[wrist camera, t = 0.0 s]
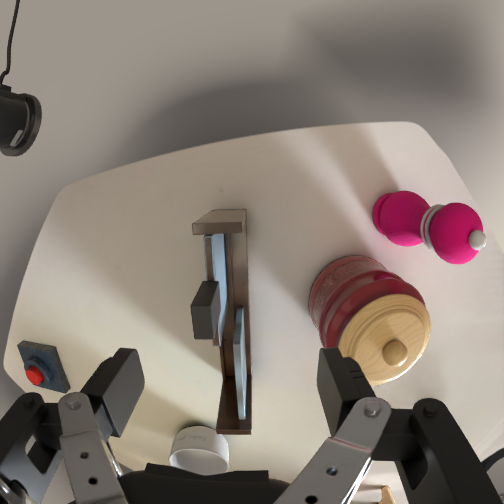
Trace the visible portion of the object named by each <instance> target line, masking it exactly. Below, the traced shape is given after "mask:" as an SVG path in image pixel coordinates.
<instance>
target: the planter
mask: <svg viewBox="0 0 504 504" xmlns="http://www.w3.org/2000/svg"><path fill="white" fill-rule="evenodd" d="M381 490H382V501H381V502H379V503H378V504H395V501H394V498H393V496H392V493H391V491H390V488H389V486H385V487H384V488H382V489H381ZM349 504H351V503H349Z"/></svg>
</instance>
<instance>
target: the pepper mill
mask: <svg viewBox="0 0 504 504" xmlns="http://www.w3.org/2000/svg"><path fill="white" fill-rule="evenodd" d="M373 221H374V225H375V227H376V228H377V230H378V231H379V232H380V233H382V234H383V235H385V236H386V237H387V238H388V239H389V240H390V241H391V242H393V243H395V244H398V245H401V246H414V245H417V244H420V243H422V242H424V244H425V245H426V246H427V247H428V248H429V249H431V250H434V251H435V252H436V253H437V255H438V256H439V257H440V258H441V259H443V260H445V261H446V262H448V263H452V264H464V263H466V262H468V261H470V260H471V259H473V258H474V257H475V256H476V254H477V253H478V251H479V250H480V249H482V248H483V247H484V246H485V244H486V237H485V234H484V233H483V225H482V222H481V220H480V217H479V216H478V214H477V213H476V212H475V211H474V210H473V209H472V208H471V207H469V206H468V205H465V204H462V203H449V204H447V205H434V206H432V207H430V206H429V205H428V203H427V202H426V201H425V200H424V199H423V198H422V197H420V196H419V195H418V194H415V193H413V192H410V191H399V192H396V193H388V194H385V195H383V196H382V197H380V198H379V199H378V200H377V202H376V204H375V206H374V209H373Z"/></svg>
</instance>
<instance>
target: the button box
mask: <svg viewBox="0 0 504 504" xmlns="http://www.w3.org/2000/svg"><path fill="white" fill-rule="evenodd" d="M17 346H18V349H19V352H20V354H21V357H22V359H23V362H24V368H25V371H27V370H28V369H29V368H30V367H31V366H35V367H36V368H37V369H39V371H40V372H41V373H42V375H43V381H42V382H41V383H40V384H39V385H36V386H39V387H42V388H46V389H50V390H54V391H57V392H61V393H65V394H66V393H67V392H68V390H69V389H70V385H69V383H68V380H67V378H66V375H65V373H64V370H63V368H62V365H61V362H60V359H59V356H58V354H57V351H56V348H55V347H54V346H48V345H42V344H37V343H32V342H27V341H22V342H21V343H19V344H18V345H17ZM33 385H34V384H33Z"/></svg>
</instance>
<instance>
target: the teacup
mask: <svg viewBox="0 0 504 504" xmlns="http://www.w3.org/2000/svg"><path fill="white" fill-rule="evenodd" d="M169 463H170V465H171V466H173V467H177V468H180V469H183V470H187V471H190V472H193V473H197V474H200V475H213V474H220V473H227V472H228V470H229V450H228V444H227V441H226V439H225V438H224V437H223V435H221V434H217V433H216V431H215V430H213V429H211V428H208V427H204V426H193V427H188V428H185V429H183V430H181V431H180V432H178V433H177V435H176V436H175V438H174V441H173V445H172V449H171V454H170V456H169Z"/></svg>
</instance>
